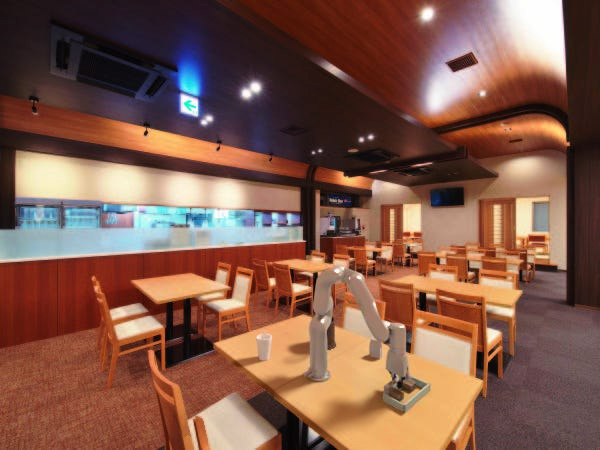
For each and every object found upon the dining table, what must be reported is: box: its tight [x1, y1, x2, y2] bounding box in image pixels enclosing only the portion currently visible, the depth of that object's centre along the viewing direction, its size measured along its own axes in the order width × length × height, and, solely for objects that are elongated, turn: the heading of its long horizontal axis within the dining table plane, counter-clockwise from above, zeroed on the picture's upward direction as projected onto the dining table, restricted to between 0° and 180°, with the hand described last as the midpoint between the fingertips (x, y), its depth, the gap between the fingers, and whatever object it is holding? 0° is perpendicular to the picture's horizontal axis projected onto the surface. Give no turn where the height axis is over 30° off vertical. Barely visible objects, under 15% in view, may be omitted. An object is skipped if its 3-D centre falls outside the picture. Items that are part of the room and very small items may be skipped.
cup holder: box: [311, 313, 337, 351], centre depth 182 cm, size 18×24×25 cm
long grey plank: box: [383, 372, 411, 397], centre depth 134 cm, size 20×2×5 cm, turn 131°
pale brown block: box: [368, 338, 383, 360], centre depth 168 cm, size 4×7×10 cm, turn 53°
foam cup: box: [255, 333, 273, 362], centre depth 165 cm, size 10×9×13 cm
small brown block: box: [403, 379, 417, 393], centre depth 135 cm, size 5×4×3 cm
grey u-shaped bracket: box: [382, 375, 431, 414], centre depth 130 cm, size 25×11×4 cm, turn 131°
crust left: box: [391, 388, 405, 402], centre depth 127 cm, size 5×4×3 cm
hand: (397, 386), depth 134 cm, fingers closed on long grey plank, 2 cm apart
